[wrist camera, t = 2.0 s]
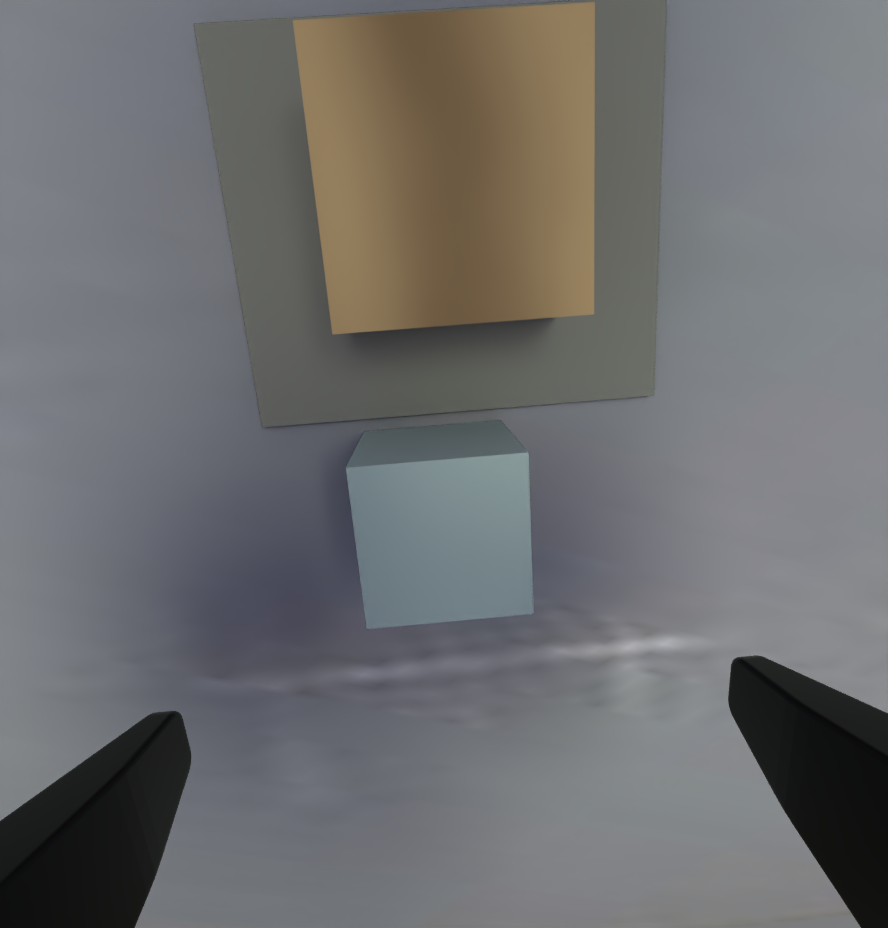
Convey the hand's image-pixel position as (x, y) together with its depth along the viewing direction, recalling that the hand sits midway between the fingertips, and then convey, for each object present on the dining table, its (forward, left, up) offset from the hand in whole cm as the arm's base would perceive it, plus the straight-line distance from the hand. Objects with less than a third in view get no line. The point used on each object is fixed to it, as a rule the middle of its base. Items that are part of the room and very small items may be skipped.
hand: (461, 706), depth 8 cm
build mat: (-1, -9, -12) cm, 15 cm away
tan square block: (-1, -9, -11) cm, 15 cm away
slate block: (0, 0, -12) cm, 12 cm away
